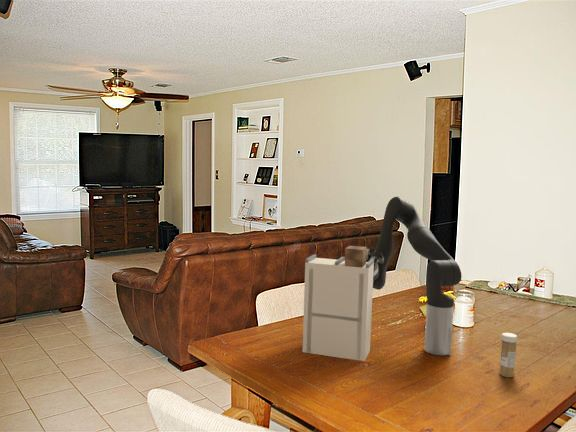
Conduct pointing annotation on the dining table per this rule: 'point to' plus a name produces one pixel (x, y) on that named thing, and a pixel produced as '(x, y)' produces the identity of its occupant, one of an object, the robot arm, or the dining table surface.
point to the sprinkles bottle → (508, 354)
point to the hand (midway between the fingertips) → (362, 249)
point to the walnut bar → (356, 256)
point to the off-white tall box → (337, 308)
